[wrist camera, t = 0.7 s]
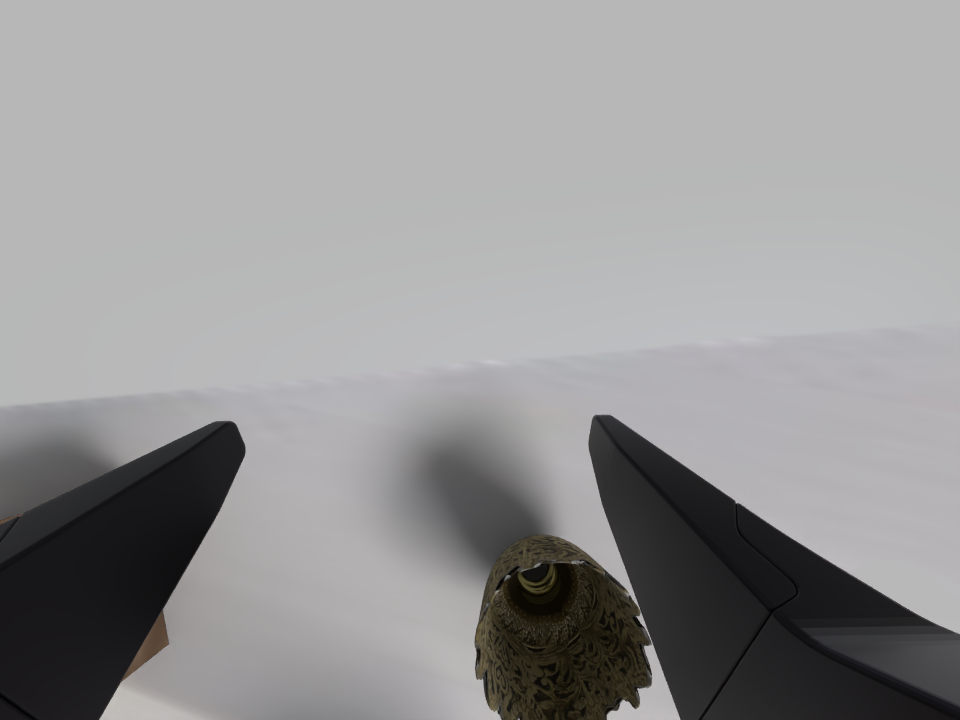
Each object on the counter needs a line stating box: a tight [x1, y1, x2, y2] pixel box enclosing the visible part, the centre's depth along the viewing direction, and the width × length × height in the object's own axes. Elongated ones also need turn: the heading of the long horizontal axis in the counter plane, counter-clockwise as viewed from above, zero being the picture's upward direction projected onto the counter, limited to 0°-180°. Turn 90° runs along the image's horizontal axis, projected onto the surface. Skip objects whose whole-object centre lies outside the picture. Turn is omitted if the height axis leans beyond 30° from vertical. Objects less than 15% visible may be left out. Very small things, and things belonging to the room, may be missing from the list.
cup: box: [475, 535, 652, 720], centre depth 19 cm, size 8×7×8 cm
